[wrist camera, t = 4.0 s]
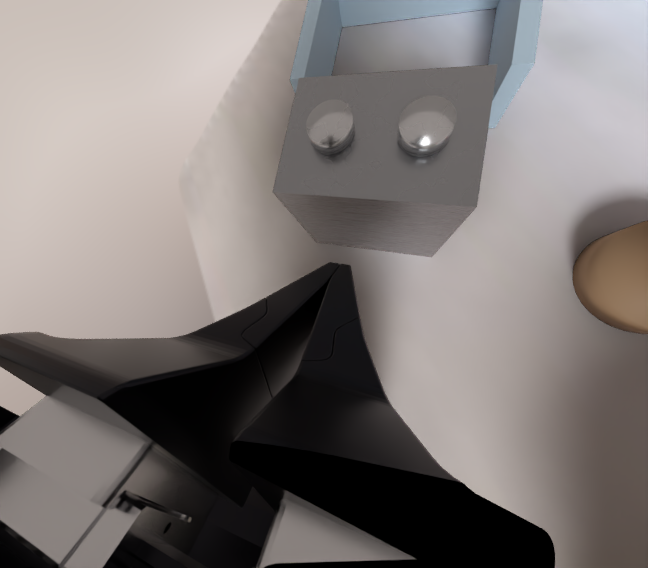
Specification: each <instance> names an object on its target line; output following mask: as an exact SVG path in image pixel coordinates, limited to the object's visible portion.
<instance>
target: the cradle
mask: <svg viewBox="0 0 648 568" xmlns="http://www.w3.org/2000/svg"><path fill="white" fill-rule="evenodd" d="M542 4H543V0H308V4H307V8H306V12H305V17H304V21H303V25H302V30H301V34H300V38H299V42H298V47H297V51H296V55H295V60H294V64H293V68H292V72H291V77H290V81H291V84H292V86H293V89H294V92H295V93H296V89H297V84H298V80H299V78H304V77H319V76H332V71H333V67H334V62H335V57H336V53H337V48H338V43H339V39H340V34H341V30H342V27H348V26H356V25H364V24H372V23H380V22H389V21H397V20H405V19H413V18H421V17H429V16H437V15H445V14H453V13H461V12H469V11H477V10H485V9H493V8H496V15H495V22H494V28H493V35H492V41H491V48H490V54H489V61H488V65H495V64H498V65H497V72H496V79H495V86H494V92H493V99H492V106H491V113H490V120H489V126H488V128H495V127H496V125H497V123H498V122H499V120H500V119H501V117H502V115H503V114H504V112H505V110H506V109H507V107H508V105H509V104H510V102H511V101H512V99H513V97H514V96H515V94H516V92H517V91H518V89H519V88H520V86H521V84H522V83H523V81H524V79H525V78H526V76H527V75H528V73H529V71H530V70H531V68H532V66H533V65H534V63H535V56H536V49H537V41H538V34H539V26H540V19H541V11H542Z"/></svg>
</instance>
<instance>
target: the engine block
mask: <svg viewBox="0 0 648 568" xmlns="http://www.w3.org/2000/svg"><path fill="white" fill-rule="evenodd" d="M497 65H498V64H495V65H480V66H466V67H451V68H436V69H422V70H407V71H392V72H378V73H363V74H348V75H334V76H319V77H304V78H299V80H298V84H297V89H296V93H295V97H294V102H293V106H292V110H291V115H290V119H289V123H288V128H287V132H286V136H285V141H284V145H283V149H282V154H281V158H280V163H279V167H278V171H277V176H276V180H275V184H274V189H273V193H274V194H275V195H276V196H277V198H278V199H279V200H280V201H281V202H282V203H283V204H284V206H285V207H286V208H287V209H288V210H289V211H290V212H291V214H292V215H293V216H294V217H295V218H296V219H297V221H298V222H299V223H300V224H301V225H302V226H303V227H304V229H305V230H306V231H307V232H308V233H309V234H310V236H311V237H312V238H313V239H314V240H315V241H316V242H318V243H326V244H334V245H341V246H349V247H357V248H364V249H372V250H380V251H388V252H395V253H403V254H411V255H418V256H426V257H432V256H433V255H434V254H435V253H436V252H437V251H438V249H439V248H440V247H441V246H442V245H443V244H444V243H445V242H446V241H447V239H448V238H449V237H450V236H451V235H452V234H453V233H454V232H455V231H456V229H457V228H458V227H459V226H460V225H461V224H462V223H463V222H464V221H465V219H466V218H467V217H468V216H469V215H470V214H471V213H472V212H473V210H474V209H475V208H476V207H477V201H478V194H479V187H480V180H481V174H482V167H483V160H484V153H485V147H486V140H487V133H488V126H489V120H490V113H491V106H492V99H493V92H494V86H495V79H496V72H497Z"/></svg>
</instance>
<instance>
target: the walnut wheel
mask: <svg viewBox="0 0 648 568" xmlns="http://www.w3.org/2000/svg"><path fill="white" fill-rule="evenodd" d="M573 285H574V289H575V292H576V294H577V296H578V298H579V300H580V301H581V303H582V304H583V305H584V306H585V308H586V309H587V310H588V311H589V312H590V313H591V314H592V315H594V316H595V317H596V318H598V319H599V320H601V321H603V322H604V323H606V324H608V325H610V326H612V327H615V328H618V329H621V330H624V331H628V332H633V333H640V334H648V221H644V222H641V223H638V224H636V225H633V226H630V227H628V228H625V229H622V230H619V231H617V232H614V233H611V234H609V235H606V236H603V237H601V238H599V239H597V240H595V241H594V242H592V243H591V244H589V245H588V246H587V247H586V248H585V249H584V250H583V251H582V252H581V254H580V255H579V257H578V258H577V260H576V262H575V265H574V269H573Z"/></svg>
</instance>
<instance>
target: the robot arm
mask: <svg viewBox="0 0 648 568" xmlns="http://www.w3.org/2000/svg"><path fill="white" fill-rule="evenodd" d="M0 367H2V368H4V369H5V370H7V371H8V372H10V373H12V374H13V375H15V376H16V377H18V378H19V379H21V380H22V381H24V382H26V383H27V384H29V385H30V386H32V387H34V388H35V389H37V390H38V391H40V392H42V393H43V394H45V395H46V396H45V397H44V398H43V399H42V400H40V401H39V402H38V403H37V404H35V405H34V406H33V407H31V408H30V409H29V410H28V411H26V412H25V413H24V414H22V415H21V416H19V415H16V414H15V413H13V412H11V411H9V410H7V409H5V408H3V407H1V406H0V568H555V551H554V545H553V542H552V540H551V538H550V536H549V535H548V533H547V532H546V531H545V530H543V529H542V528H540V527H538V526H536V525H534V524H532V523H530V522H529V521H527V520H525V519H523V518H521V517H519V516H517V515H515V514H513V513H511V512H510V511H508V510H506V509H504V508H502V507H500V506H498V505H496V504H494V503H492V502H490V501H489V500H487V499H485V498H483V497H481V496H479V495H477V494H475V493H474V492H473V491H472V490H470V489H469V488H468V487H466V485H465V484H463V483H462V482H460V481H459V480H457V479H456V478H454V477H453V476H452V475H450V474H449V473H448V472H447V471H446V470H444V469H443V468H442V467H441V466H440V465H439V464H438V463H437V462H436V460H435V459H434V458H433V457H432V456H431V454H430V453H429V452H428V451H427V449H426V448H425V447H424V446H423V444H422V443H421V442H420V441H419V439H418V438H417V437H416V436H415V434H414V433H413V432H412V431H411V429H410V428H409V427H408V426H407V424H406V423H405V422H404V421H403V419H402V418H401V417H400V416H399V414H398V413H397V412H396V411H395V409H394V408H393V407H392V405H391V404H390V402H389V400H388V398H387V396H386V394H385V392H384V389H383V387H382V384H381V382H380V379H379V376H378V374H377V371H376V368H375V366H374V363H373V360H372V358H371V355H370V352H369V350H368V347H367V344H366V341H365V337H364V333H363V329H362V324H361V319H360V314H359V309H358V303H357V298H356V292H355V287H354V282H353V276H352V271H351V266H350V265H345V264H338V263H332V262H330V263H328V264H326V265H324V266H322V267H320V268H319V269H317V270H315V271H313V272H311V273H309V274H308V275H306V276H304V277H302V278H300V279H299V280H297V281H295V282H293V283H291V284H289V285H288V286H286V287H284V288H282V289H280V290H279V291H277V292H275V293H273V294H271V295H269V296H268V297H266V298H264V299H262V300H260V301H258V302H257V303H255V304H253V305H251V306H249V307H247V308H245V309H243V310H241V311H239V312H237V313H234V314H232V315H230V316H228V317H226V318H224V319H221V320H219V321H217V322H215V323H212V324H210V325H208V326H206V327H204V328H201V329H199V330H197V331H195V332H192V333H190V334H187V335H183V336H179V337H173V338H145V339H144V338H142V339H141V338H140V339H67V338H58V337H53V336H49V335H46V334H43V333H40V332H23V333H9V334H1V335H0Z"/></svg>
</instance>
